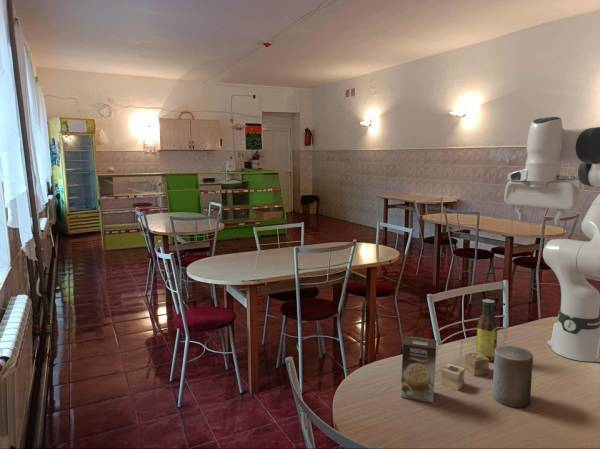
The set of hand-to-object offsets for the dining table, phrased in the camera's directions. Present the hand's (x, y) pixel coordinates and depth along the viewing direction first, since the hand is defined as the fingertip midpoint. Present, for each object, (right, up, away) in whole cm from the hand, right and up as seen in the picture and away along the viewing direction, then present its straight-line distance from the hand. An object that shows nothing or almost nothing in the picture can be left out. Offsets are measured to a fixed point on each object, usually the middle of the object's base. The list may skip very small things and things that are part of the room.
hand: (538, 222), depth 127 cm
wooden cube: (-14, -47, +11) cm, 50 cm away
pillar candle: (-10, -50, -4) cm, 51 cm away
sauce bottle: (-7, -46, +20) cm, 51 cm away
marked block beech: (-24, -48, +3) cm, 54 cm away
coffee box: (-36, -49, -2) cm, 61 cm away
